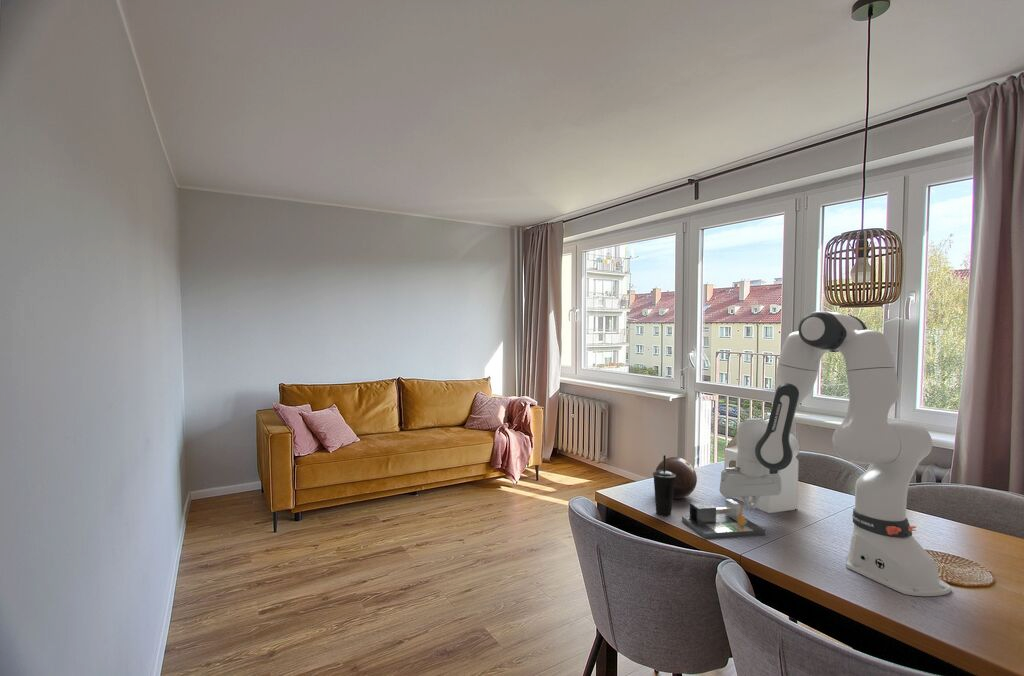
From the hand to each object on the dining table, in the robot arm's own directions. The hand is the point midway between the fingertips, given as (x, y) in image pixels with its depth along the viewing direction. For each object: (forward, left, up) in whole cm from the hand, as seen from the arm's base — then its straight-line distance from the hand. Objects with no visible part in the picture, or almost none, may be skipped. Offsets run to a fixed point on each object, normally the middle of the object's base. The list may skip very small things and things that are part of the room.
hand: (749, 508), depth 165 cm
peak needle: (-6, +7, -2) cm, 10 cm away
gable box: (+18, -16, -5) cm, 25 cm away
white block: (-2, +10, -3) cm, 10 cm away
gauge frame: (-3, +12, -4) cm, 13 cm away
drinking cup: (+11, +25, -5) cm, 27 cm away
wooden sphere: (+26, +13, -5) cm, 29 cm away
